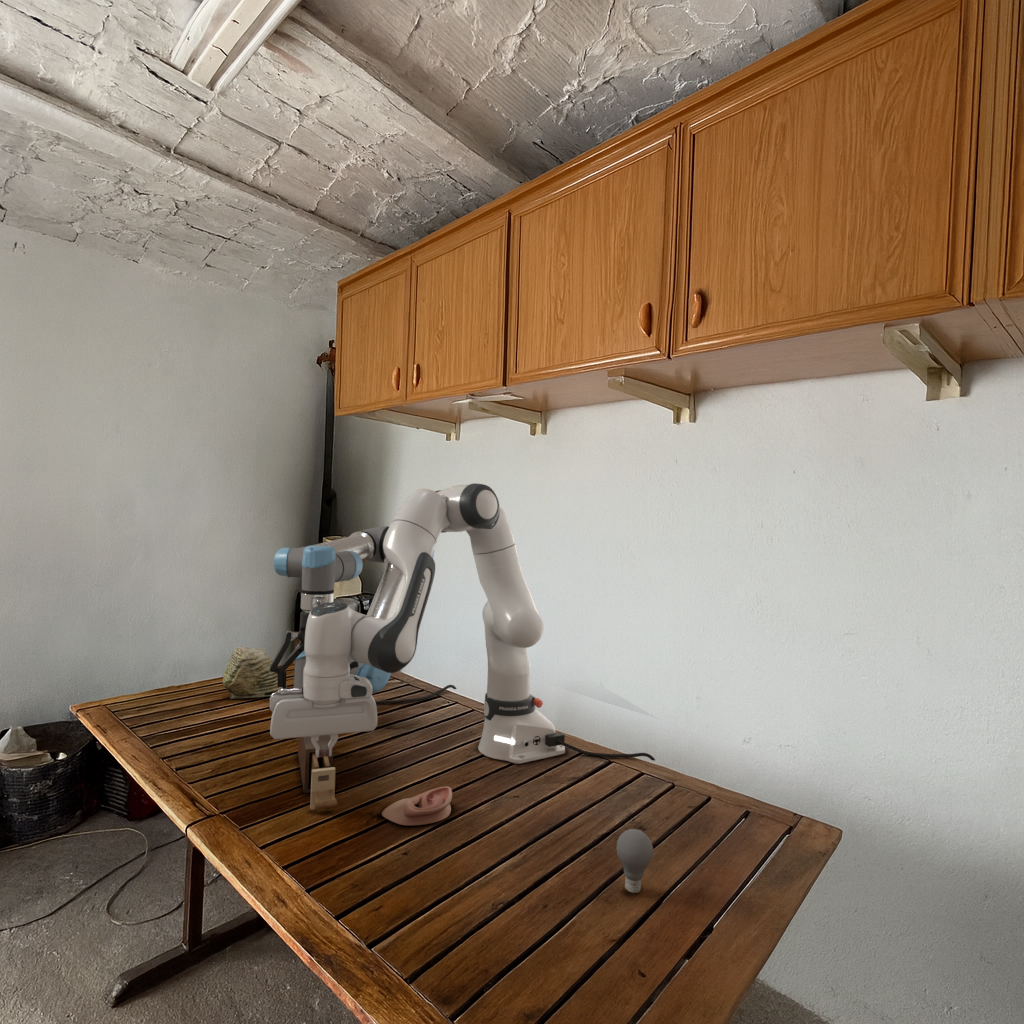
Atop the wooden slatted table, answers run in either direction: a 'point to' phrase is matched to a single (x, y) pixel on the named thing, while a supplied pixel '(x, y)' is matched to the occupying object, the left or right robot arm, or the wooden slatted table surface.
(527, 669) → the right robot arm
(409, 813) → the anatomical model
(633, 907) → the wooden slatted table surface
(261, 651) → the fossil
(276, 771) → the wooden slatted table surface
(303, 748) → the cabinet
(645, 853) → the light bulb
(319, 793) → the drawer
